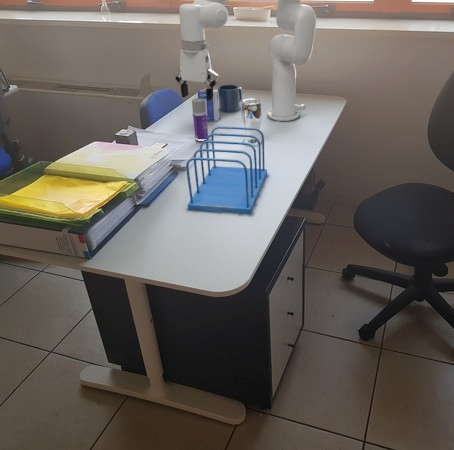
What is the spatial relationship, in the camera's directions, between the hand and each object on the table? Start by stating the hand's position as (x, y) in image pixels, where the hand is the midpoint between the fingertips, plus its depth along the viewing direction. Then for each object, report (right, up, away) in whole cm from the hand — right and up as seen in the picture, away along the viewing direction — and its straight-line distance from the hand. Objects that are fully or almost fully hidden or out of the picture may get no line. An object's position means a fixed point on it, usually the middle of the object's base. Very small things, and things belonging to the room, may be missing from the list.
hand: (197, 98), depth 160 cm
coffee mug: (+9, +7, +41) cm, 42 cm away
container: (0, -14, +9) cm, 16 cm away
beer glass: (+19, -14, +7) cm, 25 cm away
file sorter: (+14, -34, -26) cm, 45 cm away
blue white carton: (+1, -1, +28) cm, 28 cm away
